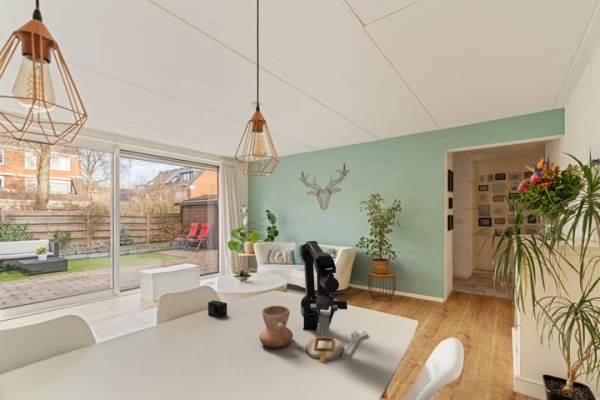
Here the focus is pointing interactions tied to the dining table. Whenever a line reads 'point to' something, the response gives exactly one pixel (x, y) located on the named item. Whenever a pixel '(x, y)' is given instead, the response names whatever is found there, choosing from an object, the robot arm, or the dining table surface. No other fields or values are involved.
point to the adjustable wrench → (353, 343)
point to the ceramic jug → (276, 327)
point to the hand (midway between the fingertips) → (324, 323)
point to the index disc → (324, 346)
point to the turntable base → (322, 358)
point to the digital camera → (217, 308)
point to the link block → (324, 320)
